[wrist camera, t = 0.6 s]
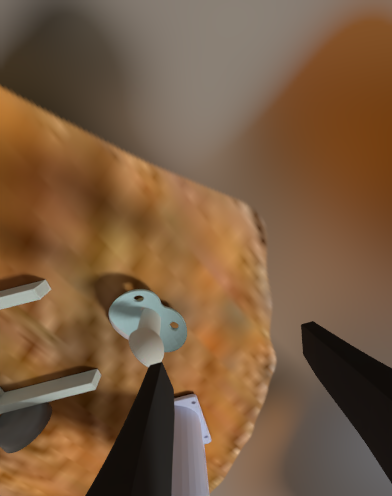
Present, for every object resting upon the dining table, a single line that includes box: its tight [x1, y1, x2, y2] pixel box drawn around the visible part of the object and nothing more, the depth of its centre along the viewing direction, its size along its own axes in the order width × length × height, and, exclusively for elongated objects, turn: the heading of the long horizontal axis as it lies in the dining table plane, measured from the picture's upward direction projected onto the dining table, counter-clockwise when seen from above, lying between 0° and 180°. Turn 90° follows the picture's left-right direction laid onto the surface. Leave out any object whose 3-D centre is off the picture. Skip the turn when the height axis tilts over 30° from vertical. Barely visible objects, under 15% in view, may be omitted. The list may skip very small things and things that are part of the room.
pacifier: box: [108, 289, 187, 367], centre depth 16 cm, size 7×6×6 cm
